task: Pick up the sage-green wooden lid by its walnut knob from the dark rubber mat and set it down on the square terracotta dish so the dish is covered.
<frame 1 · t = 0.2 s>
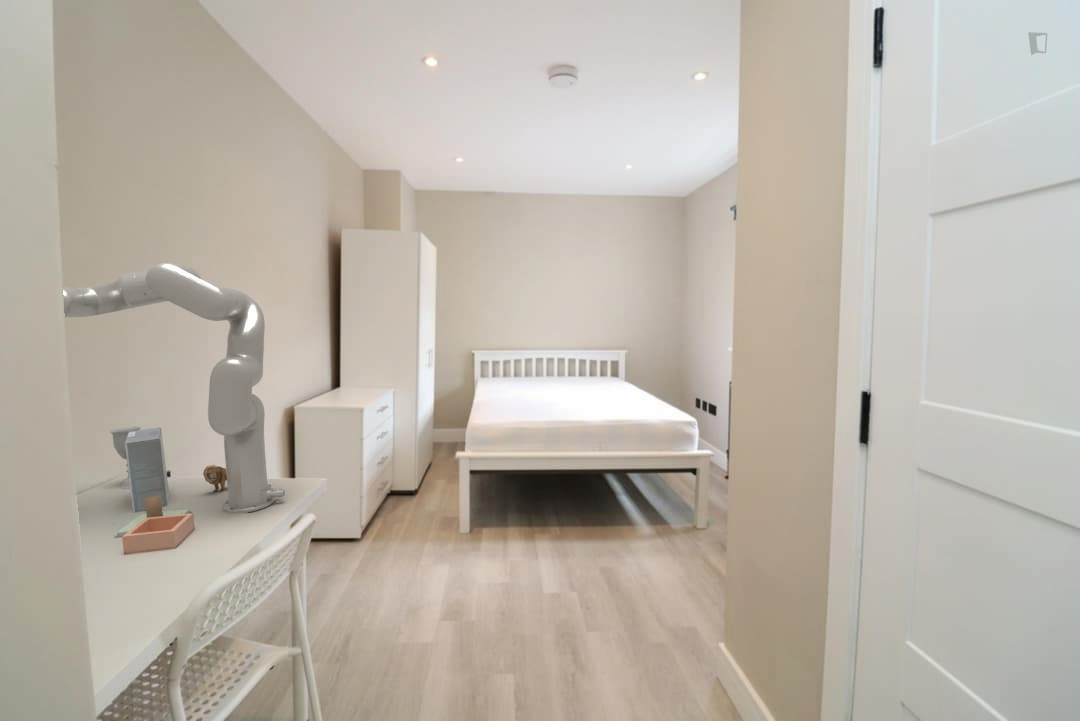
hand: (41, 406, 121), 31 cm above the table, fingers open, 9 cm apart
lion figurine: (229, 489, 148), on the table
chalice: (131, 486, 152), on the table
dish: (161, 542, 114), on the table
hard drive box: (151, 502, 139), on the table
lid: (155, 523, 124), resting on mat
mat: (155, 525, 124), on the table
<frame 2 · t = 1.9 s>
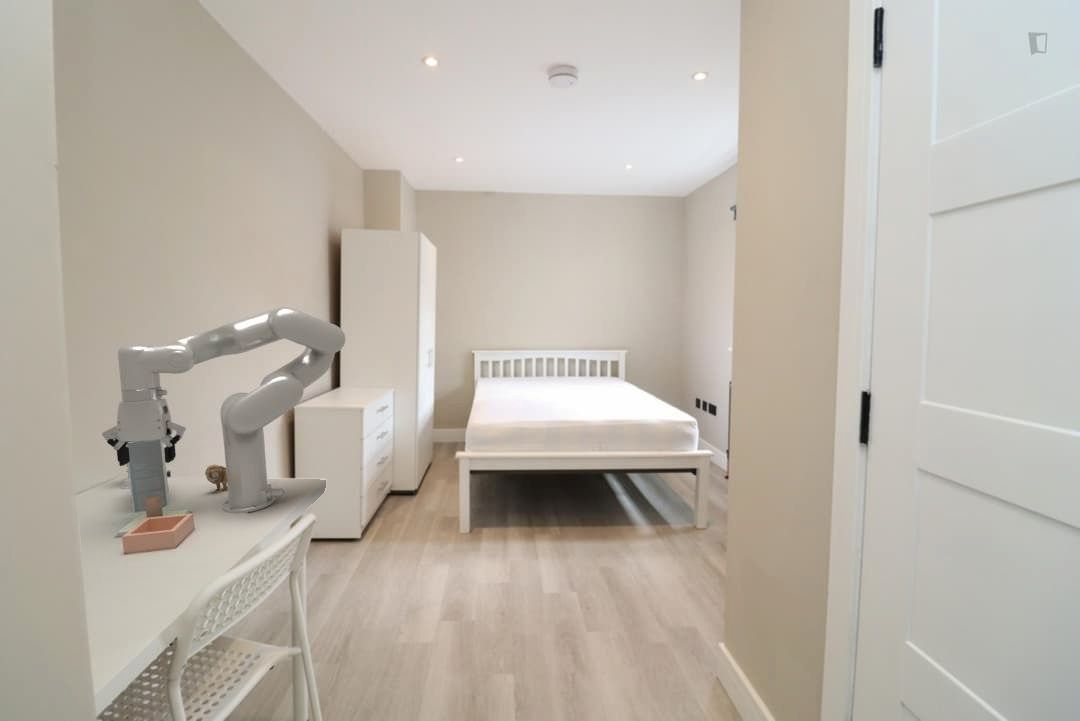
hand: (147, 462, 122), 17 cm above the table, fingers open, 9 cm apart
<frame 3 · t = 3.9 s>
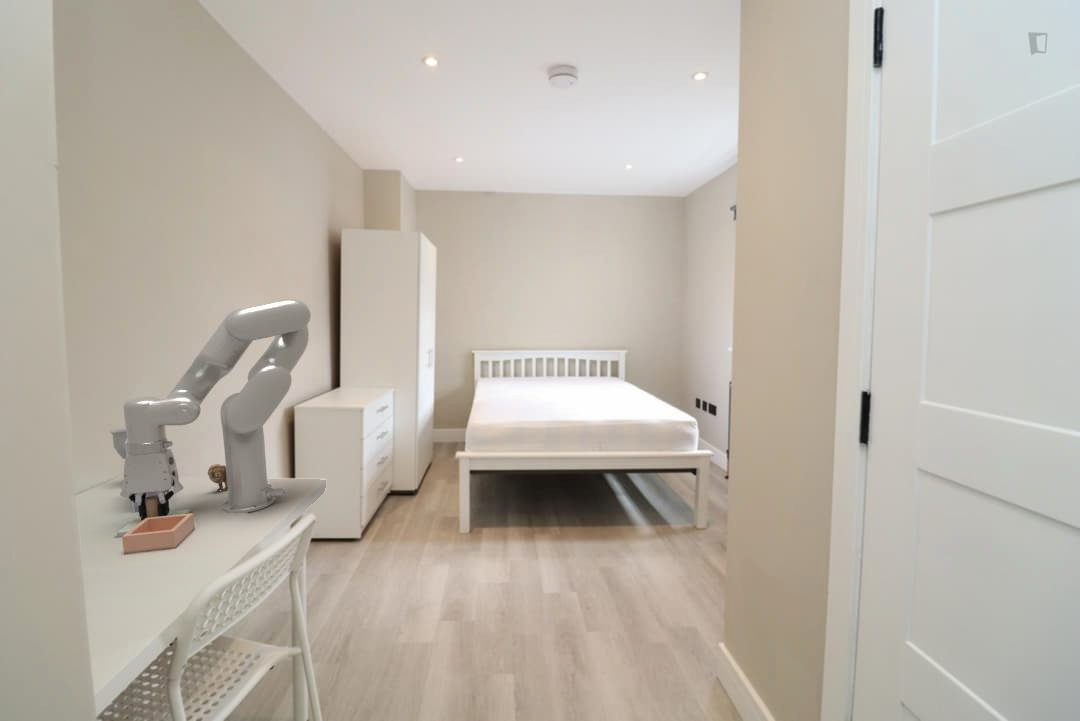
hand: (154, 517, 123), 2 cm above the table, fingers closed on lid, 3 cm apart
lid: (155, 523, 124), resting on mat, touching gripper
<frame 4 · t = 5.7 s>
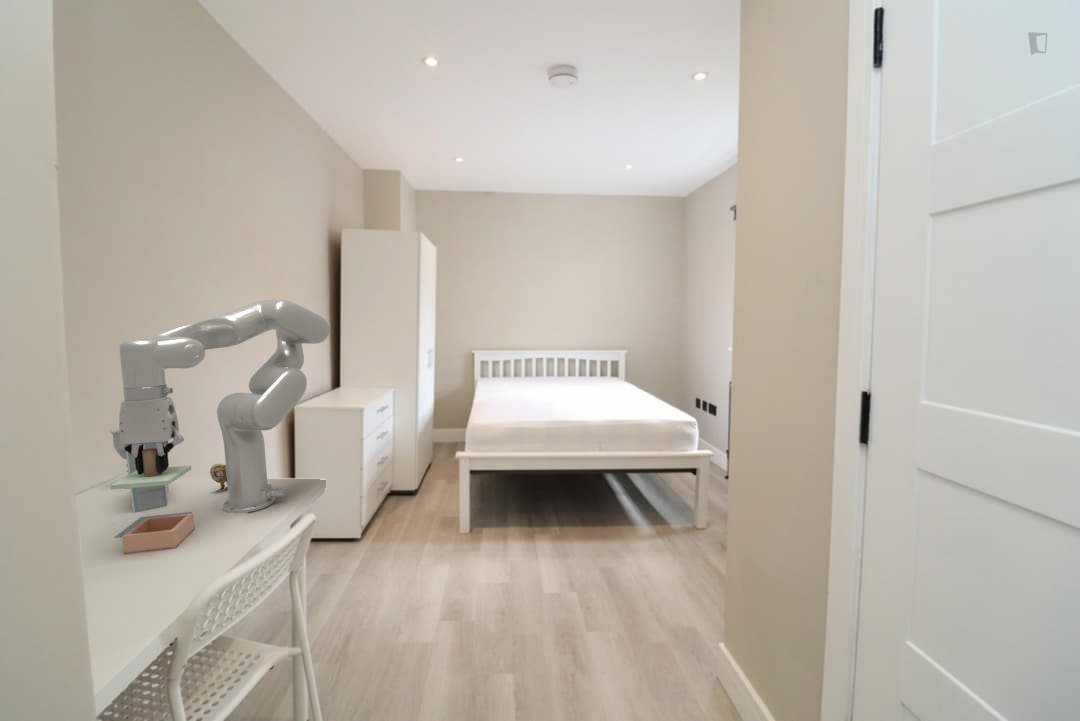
hand: (152, 471, 113), 17 cm above the table, fingers closed on lid, 3 cm apart
lid: (153, 478, 113), point 15 cm above the table, touching gripper
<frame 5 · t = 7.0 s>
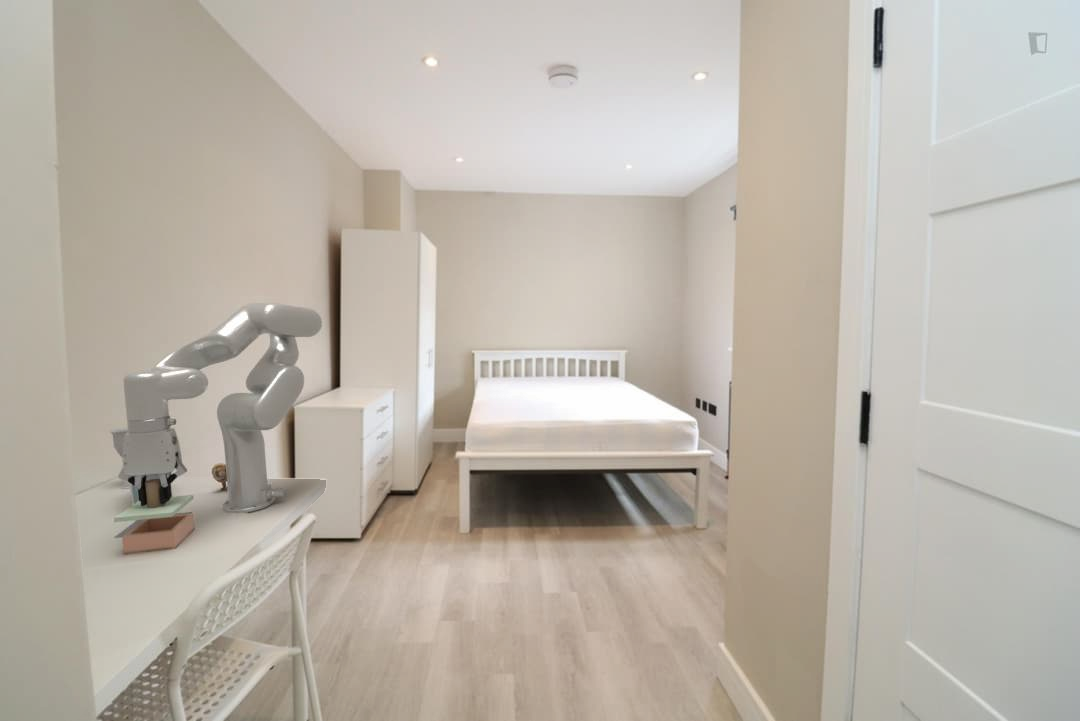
hand: (155, 502, 113), 10 cm above the table, fingers closed on lid, 3 cm apart
lid: (156, 509, 113), point 8 cm above the table, touching gripper
when the fingers open (8 cm above the table, at t = 7.7 s): lid drops 1 cm, resting on dish.
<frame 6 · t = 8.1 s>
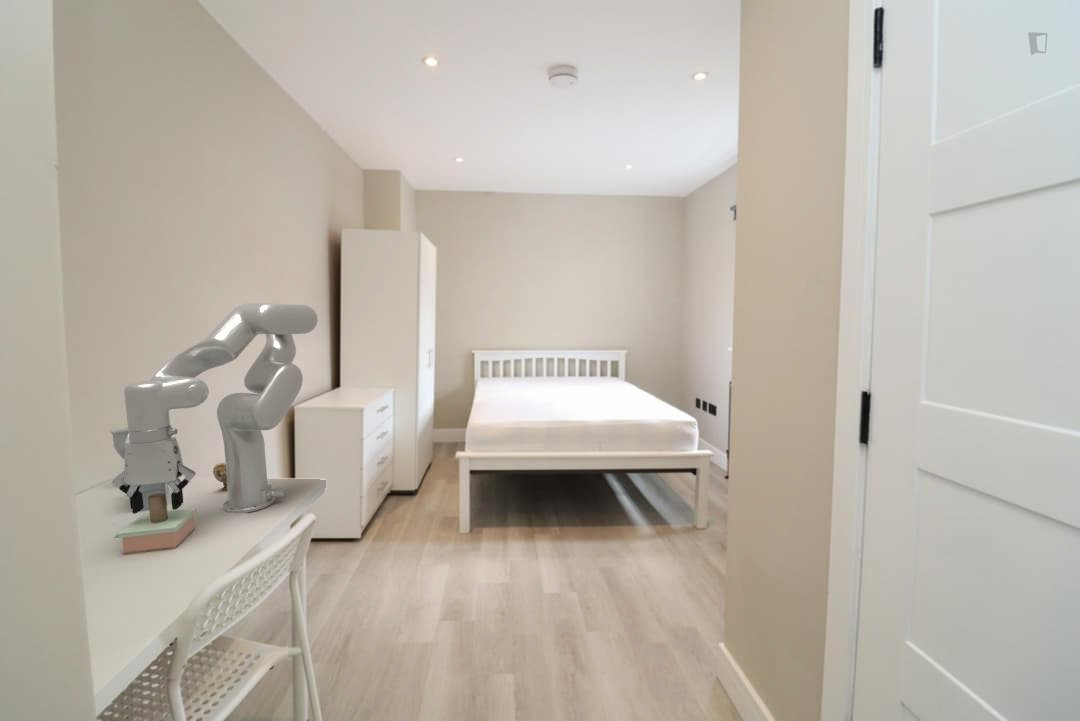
hand: (157, 508, 114), 8 cm above the table, fingers open, 7 cm apart
lid: (159, 524, 114), point 4 cm above the table, touching dish
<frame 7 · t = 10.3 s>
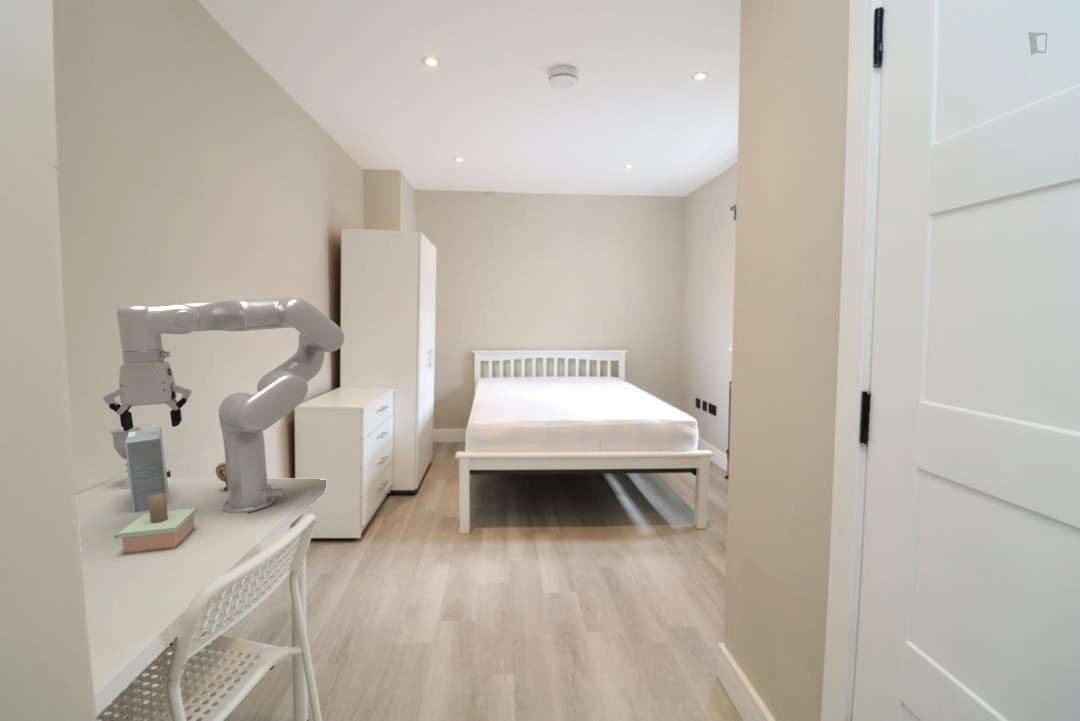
hand: (152, 427, 118), 26 cm above the table, fingers open, 9 cm apart
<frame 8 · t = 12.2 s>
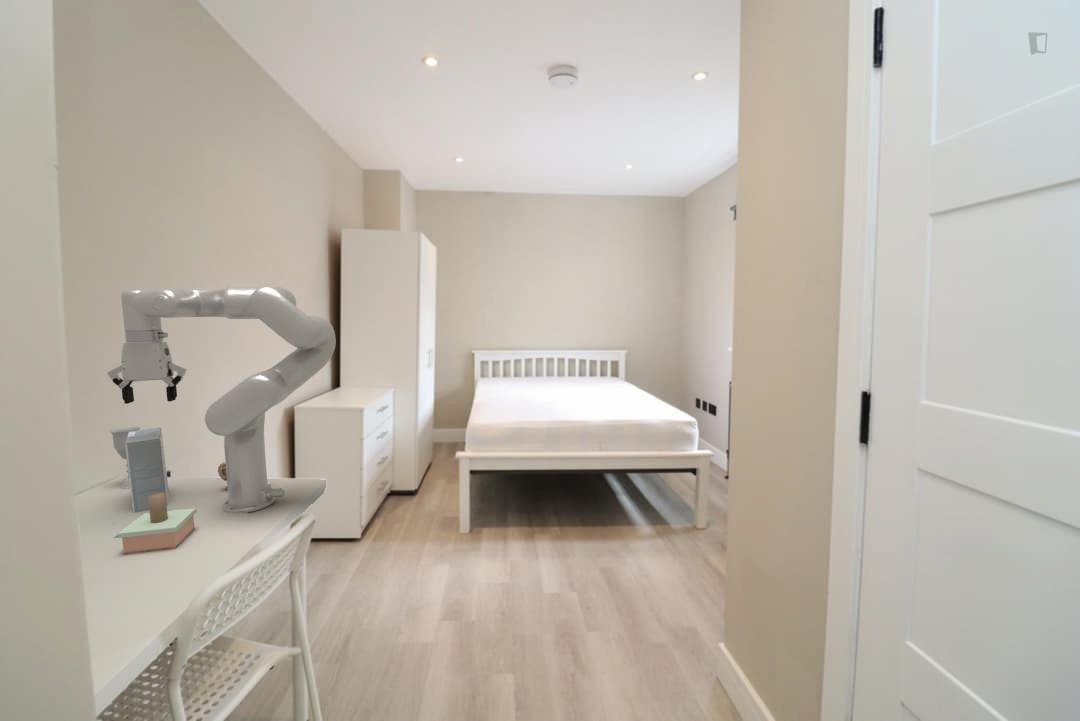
hand: (150, 401, 129), 30 cm above the table, fingers open, 9 cm apart
at the end: lid 0.0 cm off-centre on the dish, point 4.5 cm above the dish's base; lid tilted 0°; the gripper is holding nothing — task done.
